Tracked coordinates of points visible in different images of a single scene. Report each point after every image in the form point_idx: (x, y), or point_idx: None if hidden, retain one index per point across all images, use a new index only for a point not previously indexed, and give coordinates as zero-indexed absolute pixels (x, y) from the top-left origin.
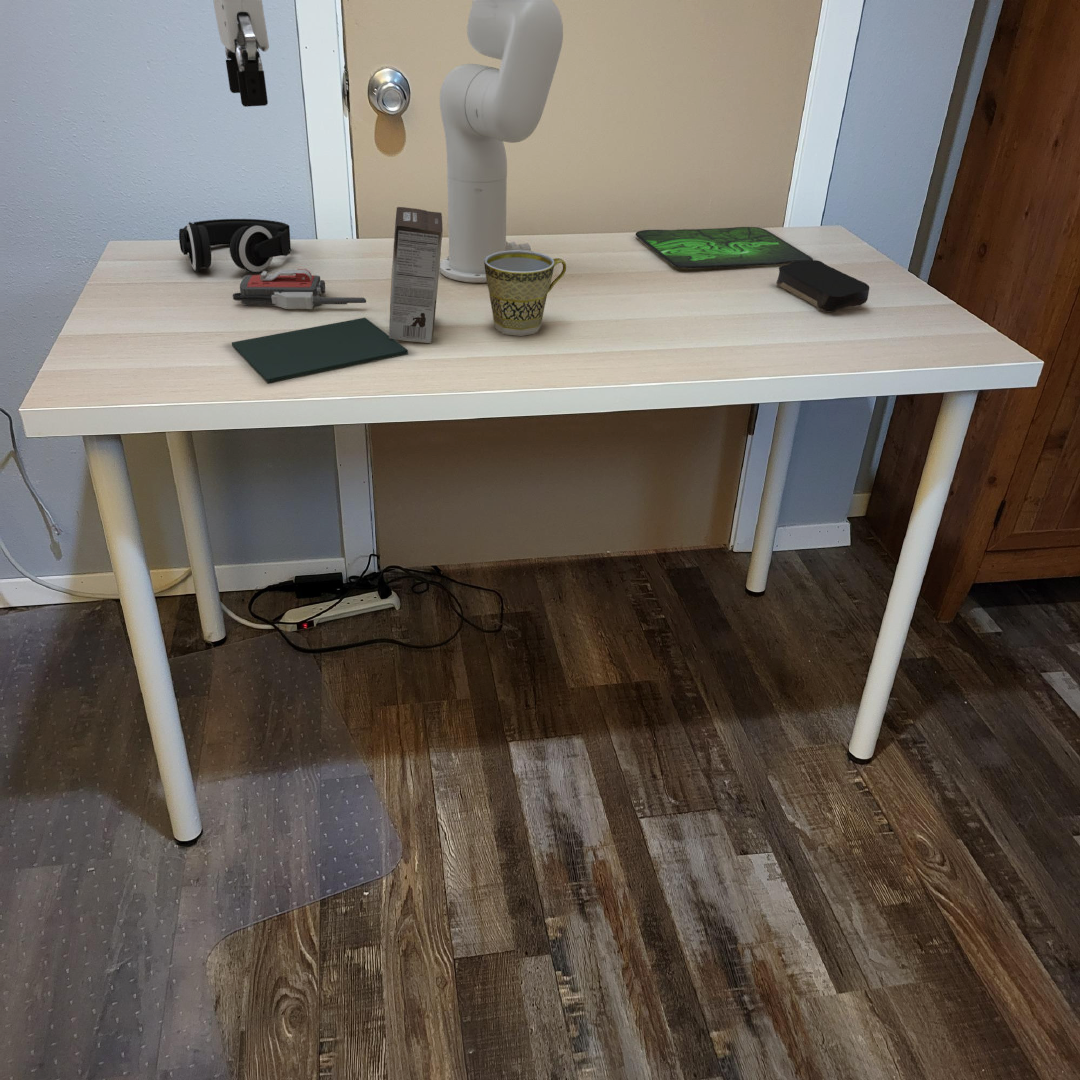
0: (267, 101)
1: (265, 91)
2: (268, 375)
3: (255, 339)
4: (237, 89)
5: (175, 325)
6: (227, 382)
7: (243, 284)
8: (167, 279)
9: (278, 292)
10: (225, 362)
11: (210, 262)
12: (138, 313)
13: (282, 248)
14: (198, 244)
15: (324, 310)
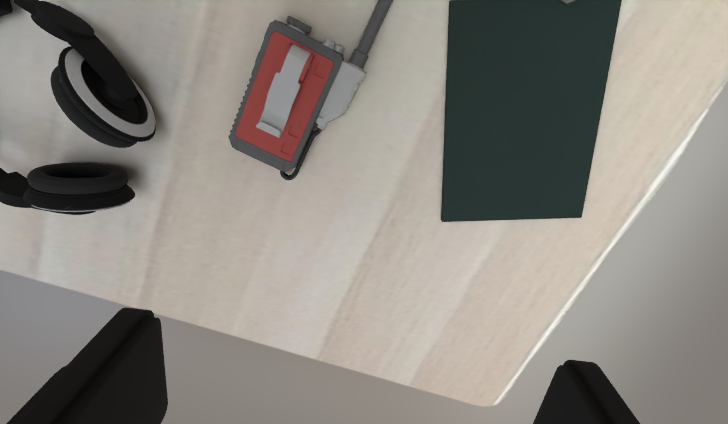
0: (599, 370)
1: (631, 421)
2: (572, 213)
3: (449, 192)
4: (158, 397)
5: (334, 260)
6: (544, 253)
7: (282, 165)
8: (140, 228)
9: (320, 117)
10: (486, 239)
11: (123, 171)
12: (272, 288)
13: (88, 32)
14: (113, 199)
15: None
